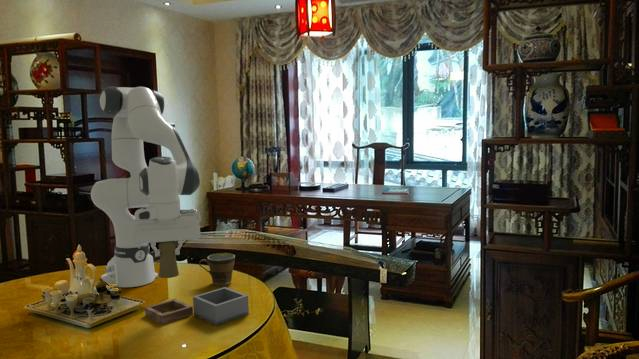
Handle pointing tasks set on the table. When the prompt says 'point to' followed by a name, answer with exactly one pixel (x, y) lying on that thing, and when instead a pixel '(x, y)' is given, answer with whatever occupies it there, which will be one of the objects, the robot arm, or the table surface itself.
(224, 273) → the ceramic cup
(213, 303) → the bin
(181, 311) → the socket collar
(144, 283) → the robot arm
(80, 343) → the table surface
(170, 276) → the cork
